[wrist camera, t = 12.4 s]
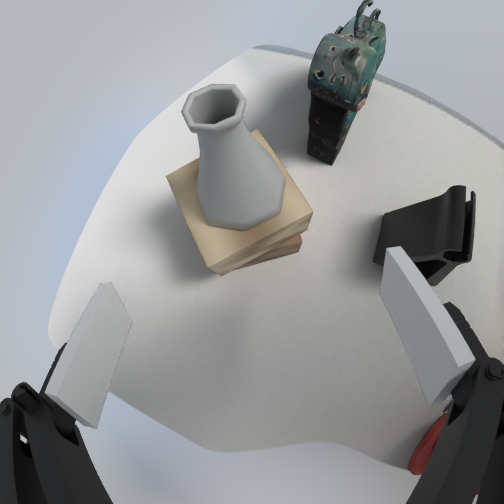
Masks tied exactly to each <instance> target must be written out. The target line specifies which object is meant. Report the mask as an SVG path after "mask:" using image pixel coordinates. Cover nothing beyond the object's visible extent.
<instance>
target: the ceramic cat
mask: <svg viewBox="0 0 504 504" xmlns="http://www.w3.org/2000/svg"><path fill="white" fill-rule="evenodd" d="M372 4H373V1H372V0H364V1H363V2H362V4H361V5H360V6H359V8H358V10H357V14H356V16H355V17H353V18H352V19H351V20H350V21H349V22H348V23H347V24H346V25H345V26H344V28H343V27H341V26H339V28H338V29H337V30H336V32H335V34H333V33H330V34H327V35H325V36H324V37H323V39H322V40H321V42H320V44H319V46H318V47H317V49H316V52H315V54H314V57H313V60H312V63H311V66H310V71H309V76H308V88H309V90H310V91H311V104H310V110H309V118H308V119H309V137H308V148H307V153H308V154H309V155H311V156H313V157H315V158H317V159H319V160H322V161H324V162H326V163H328V164H330V165H332V164H333V163H334V161H335V159H336V157H337V155H338V153H339V151H340V150H341V147H342V145H343V143H344V141H345V138H346V136H347V134H348V131H349V129H350V126H351V124H352V122H353V120H354V118H355V116H356V114H357V112H358V111H359V110H360V109H361V108H362V106H363V105H364V104H365V101H366V98H367V96H368V93H369V90H370V87H371V85H372V81H373V78H374V76H375V74H376V71H377V69H378V67H379V65H380V63H381V61H382V59H383V56H384V53H385V44H386V37H385V25H384V23H382V22H380V21H378V17H379V14H380V12H381V11H380V10H379V9H375V10H374V11H373V12H372V14H371V15H370V17H367V16H365V15H362V13H363V12H364V10H365V8H366V6H367V5H368V7H370V6H371V5H372ZM375 15H376V16H375ZM374 16H375V19H374Z"/></svg>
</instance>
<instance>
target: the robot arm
mask: <svg viewBox="0 0 504 504" xmlns="http://www.w3.org/2000/svg"><path fill="white" fill-rule="evenodd" d="M379 295H380V297H381V299H382V300H383V302H384V304H385V306H386V308H387V310H388V312H389V315H390V317H391V319H392V321H393V323H394V325H395V327H396V329H397V331H398V333H399V336H400V338H401V340H402V342H403V344H404V347H405V349H406V351H407V353H408V356H409V358H410V360H411V363H412V365H413V367H414V370H415V372H416V375H417V377H418V380H419V382H420V385H421V387H422V390H423V393H424V395H425V398H426V400H427V403H428V406H431V405H434V404H436V403H439V402H441V401H444V400H445V399H446V398H447V397H448V395H449V394H450V393H451V395H452V397H453V399H452V400H451V401H450V403H449V404H448V405H447V406H446V407H445V409H444V410H443V412H446V411H447V410H448V412H447V415H446V418H445V421H444V424H443V427H442V430H441V432H440V435H439V437H438V440H437V442H436V445H435V447H434V450H433V452H432V454H431V456H430V459H429V461H428V463H427V465H426V467H425V469H424V471H423V473H422V475H421V478H420V479H419V481H418V483H417V485H416V487H415V489H414V490H413V492H412V494H411V496H410V498H409V499H408V501H407V503H406V504H472V502H473V500H474V498H475V495H476V493H477V491H478V488H479V486H480V489H479V494H478V498H477V502H476V504H504V364H502V362H501V361H500V360H498V359H496V358H491V357H489V356H488V355H487V354H486V352H485V350H484V348H483V347H482V345H481V343H480V341H479V340H478V338H477V336H476V335H475V333H474V332H473V330H472V328H470V325H469V324H468V322H467V321H466V320H465V317H464V316H463V314H462V313H461V311H460V310H459V309H458V308H457V307H456V306H454V305H453V304H452V303H451V302H448V303H445V304H442V302H441V301H440V299H439V298H438V297H437V295H436V294H435V292H434V291H433V289H432V288H431V286H430V285H429V283H428V282H427V281H426V279H425V278H424V276H423V275H422V274H421V272H420V271H419V270H418V268H417V267H416V266H415V264H414V263H413V262H412V260H411V259H410V258H409V256H408V255H407V254H406V252H405V251H404V250H403V249H402V247H401V246H398V247H391V248H386V255H385V262H384V269H383V275H382V281H381V286H380V292H379ZM132 322H133V320H132V319H131V317H130V315H129V313H128V312H127V310H126V308H125V306H124V304H123V303H122V301H121V299H120V297H119V295H118V293H117V291H116V289H115V287H114V286H113V284H112V282H110V283H100V285H99V286H98V288H97V290H96V291H95V293H94V295H93V296H92V298H91V300H90V302H89V303H88V305H87V307H86V309H85V310H84V312H83V314H82V316H81V318H80V319H79V321H78V323H77V325H76V327H75V329H74V331H73V333H72V334H71V336H70V338H69V340H68V342H67V343H65V344H64V345H63V346H62V347H61V349H60V350H59V351H58V353H57V355H56V358H55V361H54V362H53V364H52V368H50V370H49V372H48V375H47V377H46V379H45V381H44V384H43V386H42V388H41V391H40V393H39V394H38V393H37V392H36V391H35V390H34V389H33V388H32V387H31V386H30V385H29V384H27V383H25V382H22V383H20V384H18V385H17V386H16V387H15V389H14V390H13V392H12V395H11V398H6V399H4V400H3V401H2V402H1V403H0V504H113V502H112V501H111V499H110V497H109V495H108V493H107V492H106V490H105V488H104V486H103V484H102V482H101V480H100V478H99V476H98V474H97V472H96V470H95V468H94V465H93V463H92V461H91V458H90V456H89V454H88V451H87V449H86V447H85V444H84V442H83V439H82V436H81V434H80V431H79V429H78V427H77V425H75V421H76V420H77V421H79V422H80V423H81V424H83V425H84V426H88V427H92V428H97V426H98V422H99V419H100V416H101V412H102V408H103V405H104V402H105V399H106V396H107V392H108V389H109V386H110V383H111V380H112V377H113V374H114V371H115V368H116V365H117V363H118V360H119V357H120V354H121V351H122V349H123V346H124V343H125V341H126V338H127V335H128V333H129V330H130V327H131V325H132ZM20 434H21V435H22V436H23V437H25V438H26V439H27V443H24V442H23V441H21V440H20ZM480 483H481V484H480Z"/></svg>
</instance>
